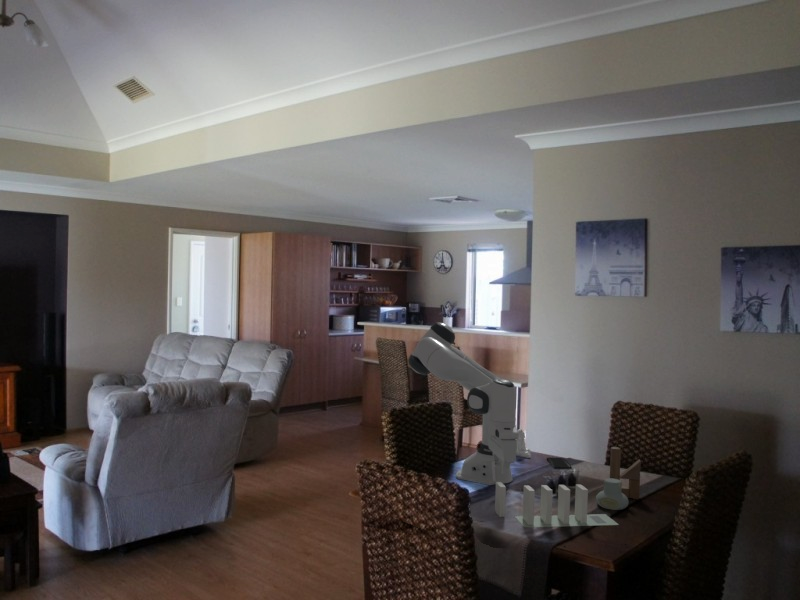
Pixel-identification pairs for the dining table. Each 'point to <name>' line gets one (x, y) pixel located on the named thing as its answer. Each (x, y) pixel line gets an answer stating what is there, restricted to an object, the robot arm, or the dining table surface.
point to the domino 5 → (581, 503)
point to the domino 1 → (500, 499)
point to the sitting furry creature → (522, 446)
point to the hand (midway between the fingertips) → (500, 469)
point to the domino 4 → (563, 504)
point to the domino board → (570, 521)
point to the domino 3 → (546, 504)
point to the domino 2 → (528, 504)
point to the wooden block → (625, 474)
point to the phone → (559, 463)
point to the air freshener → (612, 495)
